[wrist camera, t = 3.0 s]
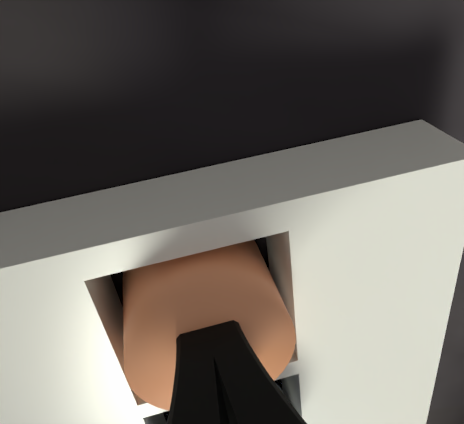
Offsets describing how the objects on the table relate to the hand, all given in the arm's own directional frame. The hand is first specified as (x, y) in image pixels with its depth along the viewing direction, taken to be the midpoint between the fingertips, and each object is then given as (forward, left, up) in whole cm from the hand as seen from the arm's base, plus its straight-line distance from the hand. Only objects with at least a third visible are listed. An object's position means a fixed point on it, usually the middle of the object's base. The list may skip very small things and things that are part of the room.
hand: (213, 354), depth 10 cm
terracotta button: (0, 0, -3) cm, 3 cm away
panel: (-5, 0, -3) cm, 6 cm away
